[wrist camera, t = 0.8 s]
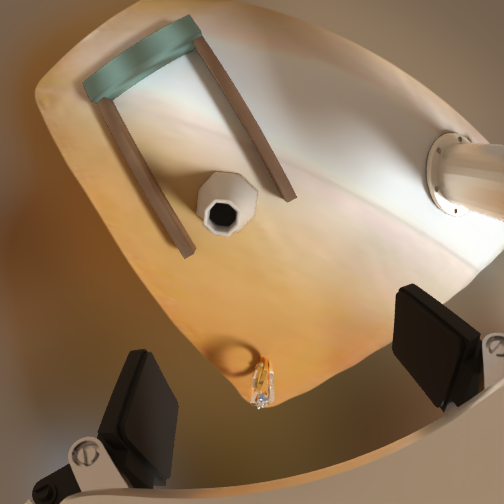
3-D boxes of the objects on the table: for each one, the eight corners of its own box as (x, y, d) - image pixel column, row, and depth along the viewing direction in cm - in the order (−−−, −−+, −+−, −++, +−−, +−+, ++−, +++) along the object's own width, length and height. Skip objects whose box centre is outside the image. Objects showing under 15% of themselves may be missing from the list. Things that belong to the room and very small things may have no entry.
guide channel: (193, 28, 25) (189, 14, 21) (292, 195, 32) (300, 199, 28) (96, 89, 26) (82, 83, 22) (188, 252, 34) (182, 263, 30)
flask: (241, 241, 34) (243, 272, 24) (186, 217, 32) (166, 239, 23) (268, 187, 32) (281, 196, 22) (211, 161, 30) (199, 159, 21)
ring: (259, 381, 41) (264, 419, 33) (240, 377, 40) (242, 415, 33) (277, 350, 39) (285, 388, 31) (257, 345, 38) (261, 383, 31)
